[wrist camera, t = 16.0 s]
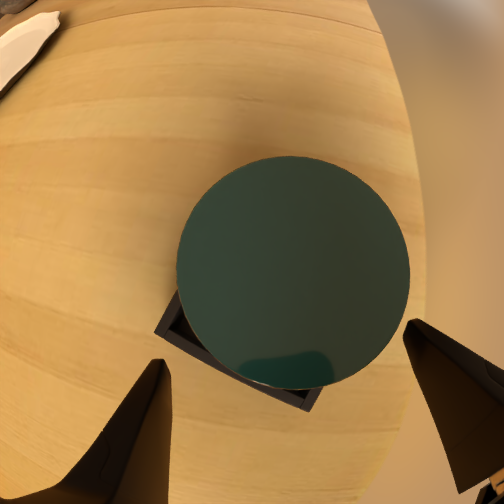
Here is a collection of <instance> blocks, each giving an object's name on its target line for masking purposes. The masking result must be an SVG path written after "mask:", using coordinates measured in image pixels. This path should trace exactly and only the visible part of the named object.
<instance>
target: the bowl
mask: <svg viewBox="0 0 504 504" xmlns="http://www.w3.org/2000/svg"><path fill="white" fill-rule="evenodd" d="M34 1H35V0H0V12H1V13H3V14H15V13H18V12H20V11H22V10H23V9H24V8H26V7H27V6H29V5H30V4H31V3H33V2H34Z"/></svg>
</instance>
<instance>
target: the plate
mask: <svg viewBox="0 0 504 504" xmlns="http://www.w3.org/2000/svg"><path fill="white" fill-rule="evenodd" d="M60 13H61V12H60V11H55V12H51V13H45V12H43V13H40V14H37V15H35V16H34V17H32V18H30V19H28V20H26V21H24V22H22V23H20V24H18V25H16V26H14V27H13V28H11V29H10V30H9V31H7V32H6V33H5V34H4V35H2V36H1V37H0V99H1V98H2V96H3V95H4V94H5V93H6V92H7V91H8V90H9V89H10V88H11V87H12V86H13V85H14V84H15V82H16V81H17V80H18V79H19V78H20V77H21V76H22V75H23V74H24V72H25V71H26V70H27V69H28V68H29V66H30V65H31V64H32V63H33V61H34V60H35V59H36V58H37V57H38V55H39V54H40V52H41V51H42V49H43V47H44V46H45V44H46V43H47V42H48V40H49V39H50V38H51V37H52V35H53V34H54V33H55V31H56V30H57V29H58V27H59V26H60V22H59V20H58V18H59V16H60Z"/></svg>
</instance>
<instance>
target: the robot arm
mask: <svg viewBox="0 0 504 504" xmlns="http://www.w3.org/2000/svg"><path fill="white" fill-rule="evenodd" d="M403 342H404V345H405V347H406V350H407V353H408V356H409V359H410V362H411V365H412V368H413V371H414V374H415V376H416V378H417V381H418V383H419V385H420V388H421V390H422V392H423V395H424V397H425V400H426V402H427V404H428V407H429V409H430V412H431V414H432V417H433V419H434V422H435V424H436V427H437V430H438V432H439V435H440V438H441V440H442V444H443V446H444V449H445V452H446V454H447V458H448V461H449V464H450V467H451V471H452V473H453V477H454V480H455V484H456V487H457V491H458V493H459V494H461V493H463V492H464V491H466V490H468V489H470V488H472V487H473V486H475V485H477V484H478V483H480V482H482V481H484V480H485V479H487V478H489V480H490V483H488V484H487V485H486V486H484V487H483V488H482V489H480V492H479V494H478V497H477V500H476V503H475V504H504V370H502V369H501V368H499V367H497V366H495V365H494V364H492V363H491V362H489V361H487V360H485V359H484V358H483V357H481V356H479V355H478V354H476V353H474V352H473V351H471V350H470V349H468V348H466V347H465V346H463V345H462V344H460V343H458V342H457V341H455V340H453V339H452V338H450V337H448V336H447V335H445V334H443V333H442V332H440V331H439V330H437V329H435V328H434V327H432V326H430V325H429V324H427V323H425V322H424V321H422V320H420V319H418V318H416V319H412V320H409V321H408V323H407V325H406V328H405V331H404V334H403ZM171 430H172V389H171V374H170V371H169V369H168V367H167V364H166V362H165V360H164V359H152V360H151V361H150V363H149V364H148V366H147V367H146V368H145V370H144V371H143V373H142V374H141V376H140V377H139V378H138V380H137V381H136V383H135V384H134V385H133V387H132V388H131V390H130V391H129V393H128V394H127V395H126V397H125V398H124V400H123V401H122V403H121V404H120V405H119V407H118V408H117V410H116V411H115V413H114V414H113V416H112V417H111V418H110V420H109V421H108V423H107V424H106V426H105V427H104V429H103V431H101V433H100V434H99V436H98V437H97V439H96V440H95V441H94V443H93V444H92V445H91V447H90V448H89V449H88V451H87V452H86V453H85V454H84V455H83V457H82V458H81V459H80V460H79V461H78V462H77V464H76V465H75V466H74V467H73V468H72V469H71V470H70V472H69V473H68V474H67V475H66V476H65V477H64V478H63V479H62V480H61V481H60V482H59V483H57V484H56V485H54V486H52V487H50V488H47V489H44V490H41V491H38V492H35V493H32V494H29V495H26V496H23V497H19V498H15V499H3V498H1V497H0V504H168V489H169V463H170V445H171Z"/></svg>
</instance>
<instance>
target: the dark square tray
mask: <svg viewBox="0 0 504 504" xmlns="http://www.w3.org/2000/svg"><path fill="white" fill-rule="evenodd" d="M154 333H155V334H157V335H158V336H160V337H161V338H164V339H165V340H166V341H168V342H170V343H171V344H173V345H175V346H176V347H178V348H180V349H181V350H183V351H185V352H186V353H188V354H190V355H192V356H193V357H195V358H197V359H199V360H200V361H202V362H204V363H206V364H208V365H210V366H211V367H213V368H215V369H217V370H219V371H221V372H223V373H225V374H226V375H228V376H230V377H232V378H234V379H236V380H238V381H240V382H242V383H244V384H246V385H248V386H250V387H252V388H254V389H257V390H259V391H261V392H263V393H265V394H267V395H269V396H272V397H274V398H276V399H278V400H280V401H283V402H285V403H287V404H290V405H292V406H294V407H297V408H300V409H301V410H304V411H306V412H310V410H311V408H312V407H313V405H314V403H315V401H316V400H317V398H318V396H319V394H320V392H321V390H322V389H323V387H319V388H313V389H304V390H288V389H279V388H273V387H269V386H265V385H261V384H258V383H255V382H253V381H251V380H248V379H246V378H243V377H241V376H240V375H238V374H236V373H235V372H233V371H231V370H230V369H228V368H227V367H226V366H224V365H223V364H222V363H221V362H219V361H218V360H217V359H216V358H214V357H213V355H212V354H211V353H210V352H209V351H208V350H207V349H206V348H205V347H204V346H203V345H202V343H201V342H200V340H199V339H198V337H197V336H196V335H195V333H194V332H193V330H192V328H191V326H190V324H189V322H188V320H187V318H186V316H185V313H184V310H183V307H182V304H181V301H180V298H179V292H178V289H177V291H176V292H175V294H174V296H173V298H172V300H171V301H170V303H169V305H168V307H167V309H166V311H165V312H164V314H163V316H162V318H161V320H160V322H159V323H158V325H157V327H156V329H155V331H154Z"/></svg>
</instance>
